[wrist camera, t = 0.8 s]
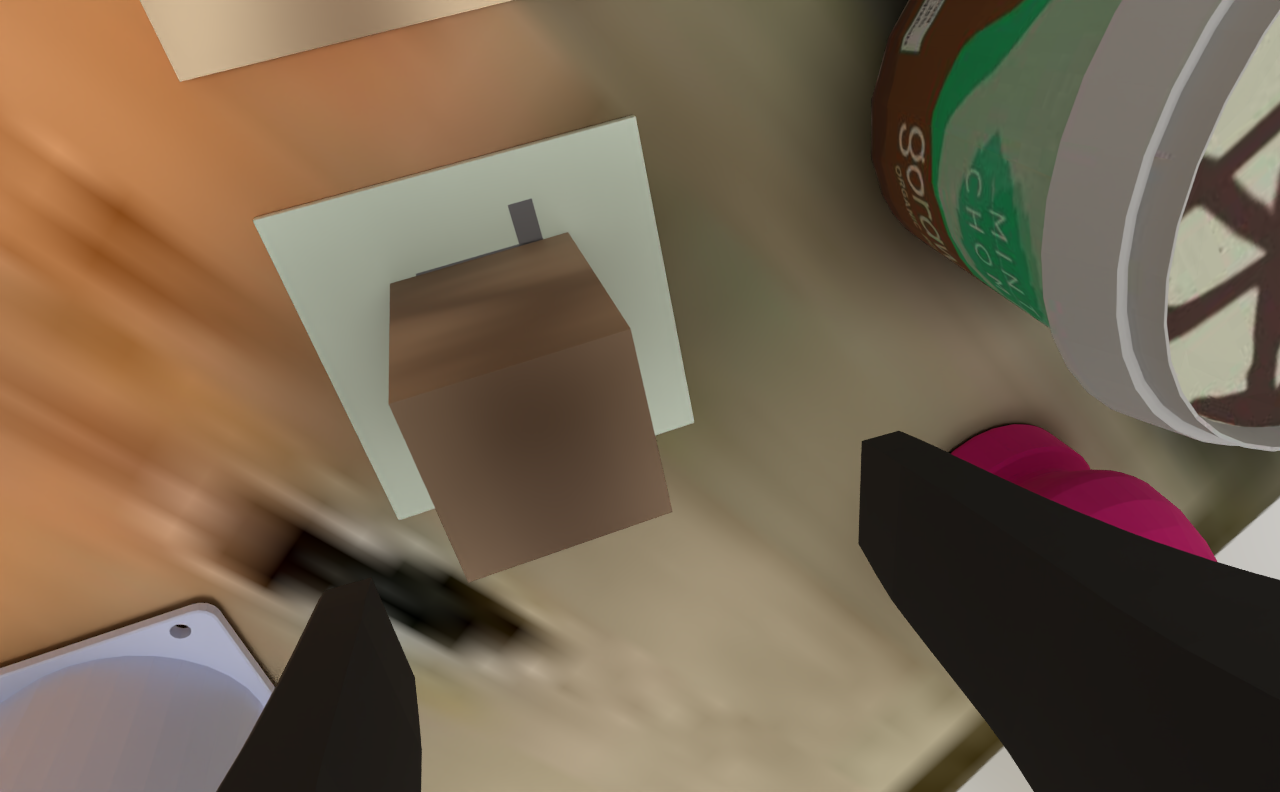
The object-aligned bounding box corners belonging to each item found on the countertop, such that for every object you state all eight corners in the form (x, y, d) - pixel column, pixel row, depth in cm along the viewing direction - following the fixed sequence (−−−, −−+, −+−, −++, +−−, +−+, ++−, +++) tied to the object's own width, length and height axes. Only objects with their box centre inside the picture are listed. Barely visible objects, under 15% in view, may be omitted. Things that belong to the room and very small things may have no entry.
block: (450, 433, 21) (468, 582, 16) (390, 283, 18) (388, 403, 13) (607, 382, 21) (672, 511, 16) (568, 232, 19) (630, 328, 14)
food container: (735, 77, 19) (1015, 171, 10) (929, -123, 18) (1416, -201, 9) (954, 366, 25) (1236, 569, 17) (1106, 231, 24) (1486, 375, 16)
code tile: (398, 515, 22) (399, 520, 22) (254, 217, 17) (252, 221, 17) (691, 418, 23) (694, 423, 23) (632, 114, 18) (635, 116, 18)
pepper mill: (1105, 436, 29) (2096, 1097, 12) (995, 582, 31) (1688, 1296, 15) (975, 386, 26) (2059, 1179, 9) (863, 552, 28) (1551, 1416, 11)
